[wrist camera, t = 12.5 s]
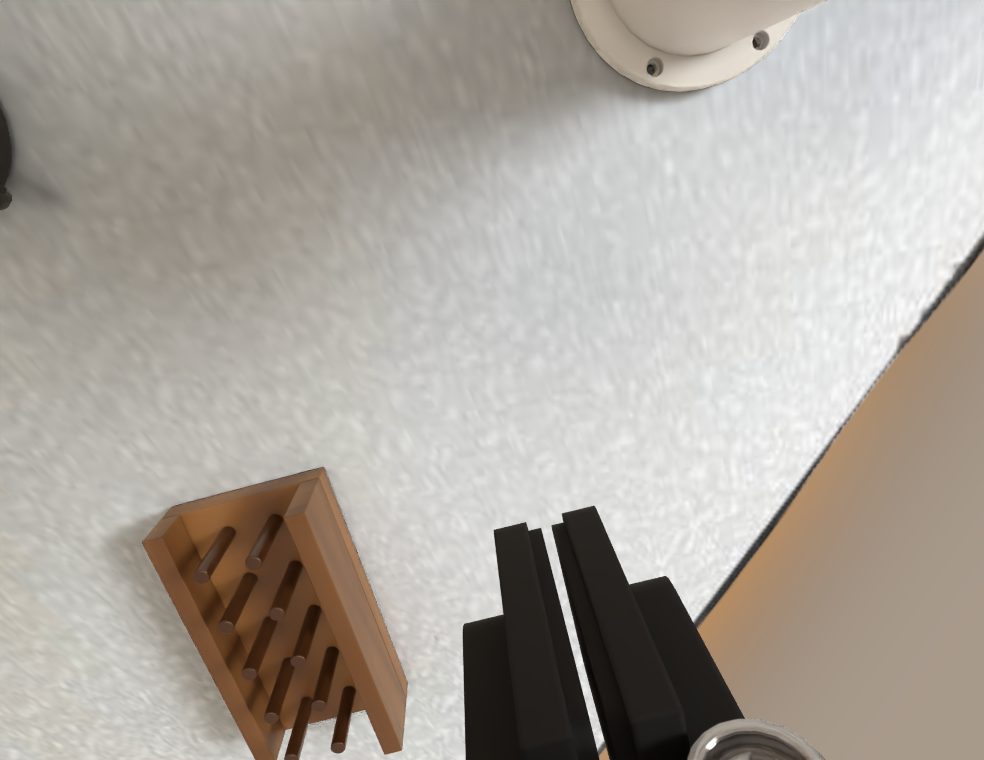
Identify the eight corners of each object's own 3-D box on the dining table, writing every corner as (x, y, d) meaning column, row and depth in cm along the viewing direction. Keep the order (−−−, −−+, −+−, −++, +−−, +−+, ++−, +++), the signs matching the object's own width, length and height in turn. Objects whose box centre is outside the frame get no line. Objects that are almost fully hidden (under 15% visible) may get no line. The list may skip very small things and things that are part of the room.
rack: (324, 466, 38) (302, 517, 33) (408, 683, 44) (402, 757, 39) (171, 506, 39) (123, 563, 33) (275, 716, 45) (249, 796, 39)
